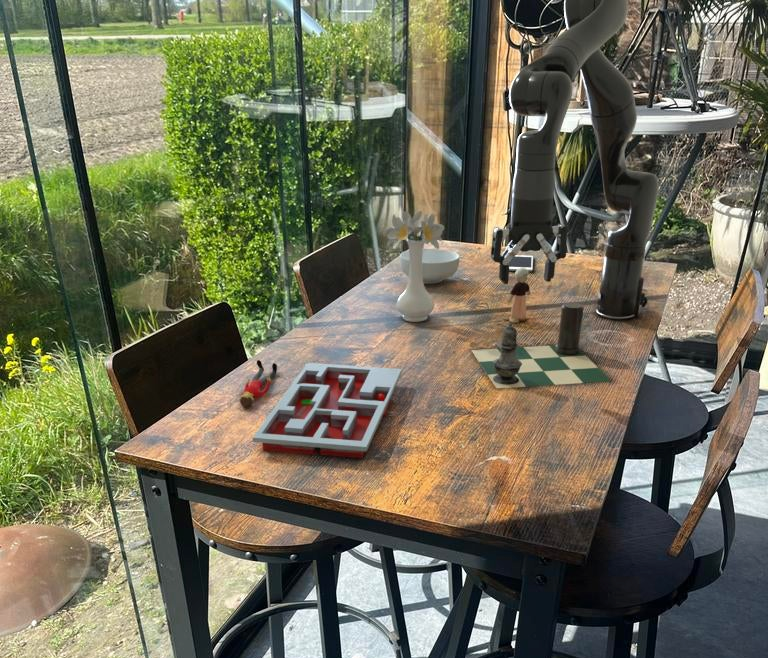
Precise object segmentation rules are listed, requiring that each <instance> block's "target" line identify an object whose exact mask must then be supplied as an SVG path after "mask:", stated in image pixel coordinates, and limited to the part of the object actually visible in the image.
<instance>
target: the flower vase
mask: <svg viewBox="0 0 768 658" xmlns="http://www.w3.org/2000/svg"><path fill="white" fill-rule="evenodd" d="M422 215H423V220H422V219H421V218H422ZM435 221H436V217H435V214H434V213H433V212H431V213H429V214H428V215H427V213H426V212H425V213H423V211H422V210H419V211H417V212H416V213H414V215H413V216H411V214H410V213H409V212H408V211H402V213H401V218H400V217H399V216H397V217H396V214H393V215H392V221H391V223H392V227H391V226H390V227H388V228H387V229H386V231H385V235H386V236H387V239H388V240H387V243H386V248H388V247H389V246H391V244H392V243H393V244H392V249H393V250H395V249H397V247H398V246H399V245H400V244H401V243H402V241H406V243H407V246H408V250H409V253H410V269H409V276H408V281H407V285H406V287H405V289H404V291H403V292H402V293H401V294H400V295H399V297H398V299H397V300H396V304H395V306H396V309H397V311H398V312H399V314H401V315H402V319H403V320H404V321H406V322H410V323H411V322H412V323H419V322H424V321H426V320H427V319H428V316H429V315H430V314H431V313H432V312H433V311H434V309H435V301H434V299H433V297H432V296H431V294H430V293H428V291H427V290H426V287H425V284H424V283H423V277H422V254H423V249H425V248H424V247H425V245H429V244H431V245H432V246H433V247H434V249H440V244H439V242H438V241H440V242H442V241H443V239H442V237H441V236H442V235H443V231H444V230H445V226H444V225H443V224H441V223H435ZM412 233H413V234H412ZM418 234H419V235H418Z"/></svg>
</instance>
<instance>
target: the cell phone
mask: <svg viewBox="0 0 768 658" xmlns="http://www.w3.org/2000/svg"><path fill="white" fill-rule="evenodd" d="M508 264H509V272H514V271H515V272H516V270H518V269H520V268H525V269H527V270H528V271H529V272H533V270H534V268H533V267H534V266H533V265H534V256H533V255H519V254H517V255H516V256H514V257H513V258H512V259H511V261H510V262H509V263H508Z"/></svg>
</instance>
